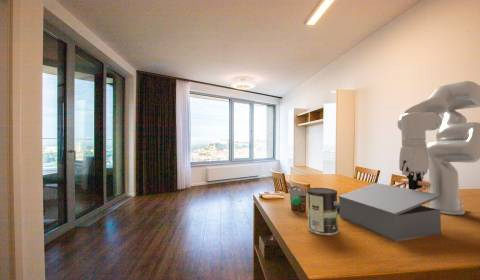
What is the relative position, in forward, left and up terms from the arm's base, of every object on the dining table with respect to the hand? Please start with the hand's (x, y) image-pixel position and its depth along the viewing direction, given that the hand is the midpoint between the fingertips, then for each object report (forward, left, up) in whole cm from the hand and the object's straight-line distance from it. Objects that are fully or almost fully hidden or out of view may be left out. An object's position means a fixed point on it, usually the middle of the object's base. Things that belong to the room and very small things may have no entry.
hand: (415, 189), depth 85 cm
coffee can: (+41, -3, -12) cm, 43 cm away
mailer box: (+16, 0, -12) cm, 20 cm away
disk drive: (+22, -22, -13) cm, 34 cm away
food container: (+38, -27, -12) cm, 48 cm away
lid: (+13, 0, -1) cm, 13 cm away
